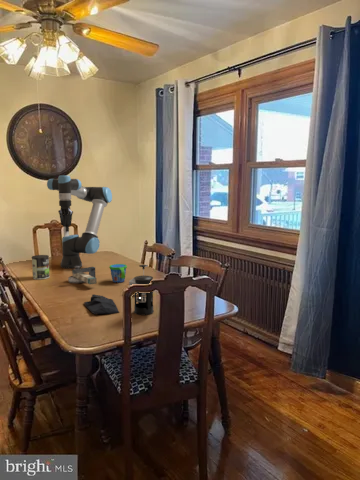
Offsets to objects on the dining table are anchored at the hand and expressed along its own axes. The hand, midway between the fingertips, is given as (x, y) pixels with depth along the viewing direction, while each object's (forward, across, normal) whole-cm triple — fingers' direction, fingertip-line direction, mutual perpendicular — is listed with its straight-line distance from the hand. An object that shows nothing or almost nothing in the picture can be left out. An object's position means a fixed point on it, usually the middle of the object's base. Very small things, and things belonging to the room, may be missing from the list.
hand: (66, 236), depth 244 cm
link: (+24, +25, -6) cm, 35 cm away
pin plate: (+26, +16, -4) cm, 31 cm away
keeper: (+26, +23, -4) cm, 35 cm away
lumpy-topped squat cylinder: (+27, +64, +4) cm, 69 cm away
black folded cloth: (+27, +67, -27) cm, 77 cm away
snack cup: (+27, +36, +12) cm, 46 cm away
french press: (+27, +88, -18) cm, 94 cm away
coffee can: (+27, -9, -14) cm, 31 cm away
